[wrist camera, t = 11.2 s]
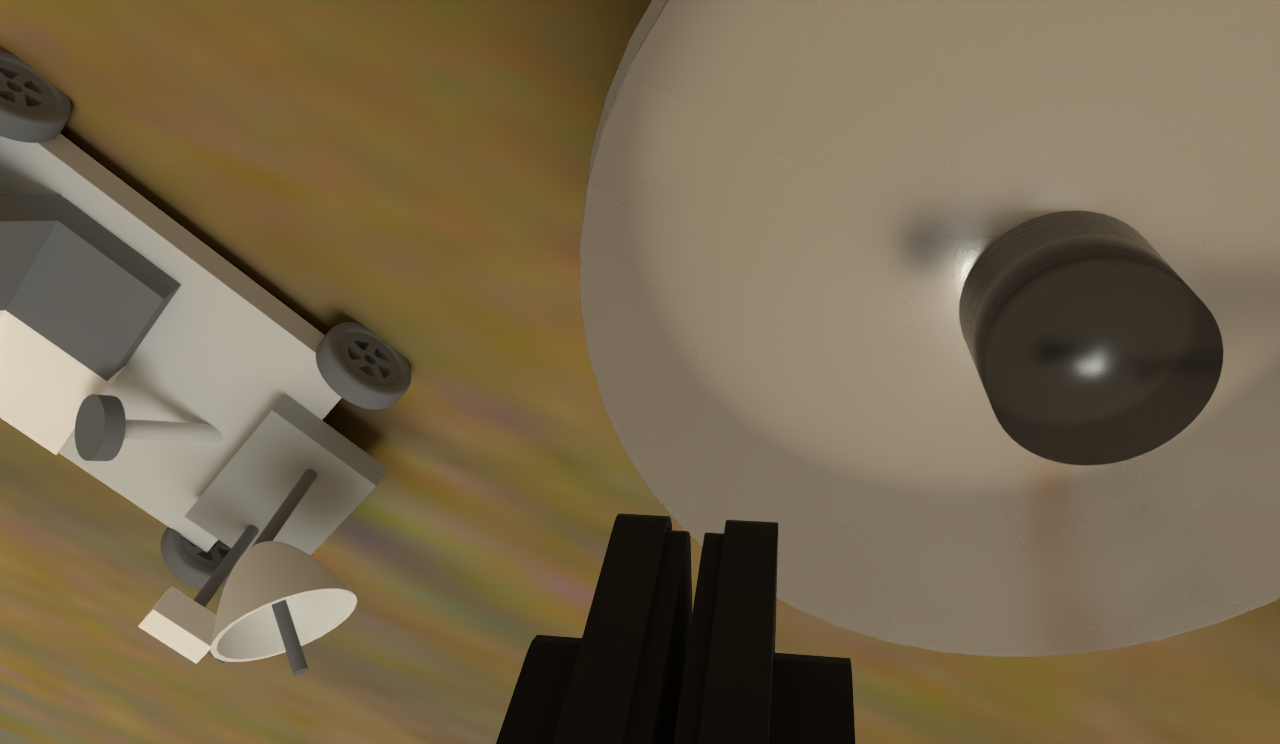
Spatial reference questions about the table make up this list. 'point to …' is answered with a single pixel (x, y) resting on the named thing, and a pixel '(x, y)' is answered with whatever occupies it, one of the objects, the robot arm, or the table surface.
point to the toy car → (179, 389)
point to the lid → (955, 306)
